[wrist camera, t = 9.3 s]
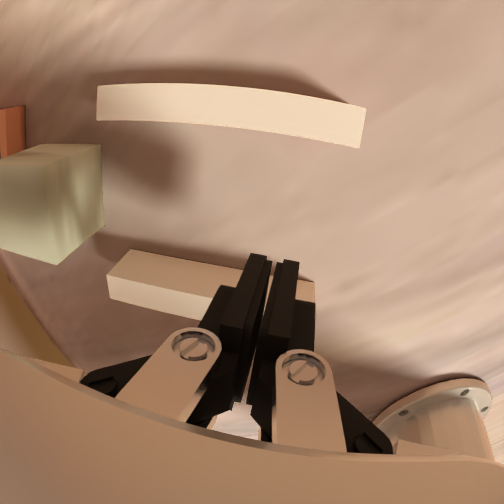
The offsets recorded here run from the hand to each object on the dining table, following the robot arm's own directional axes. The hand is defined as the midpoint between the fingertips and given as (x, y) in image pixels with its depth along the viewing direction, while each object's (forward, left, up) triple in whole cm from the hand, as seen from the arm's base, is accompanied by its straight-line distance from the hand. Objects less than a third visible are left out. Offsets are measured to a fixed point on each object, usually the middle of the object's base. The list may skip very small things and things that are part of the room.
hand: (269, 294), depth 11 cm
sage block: (+1, +13, -6) cm, 14 cm away
